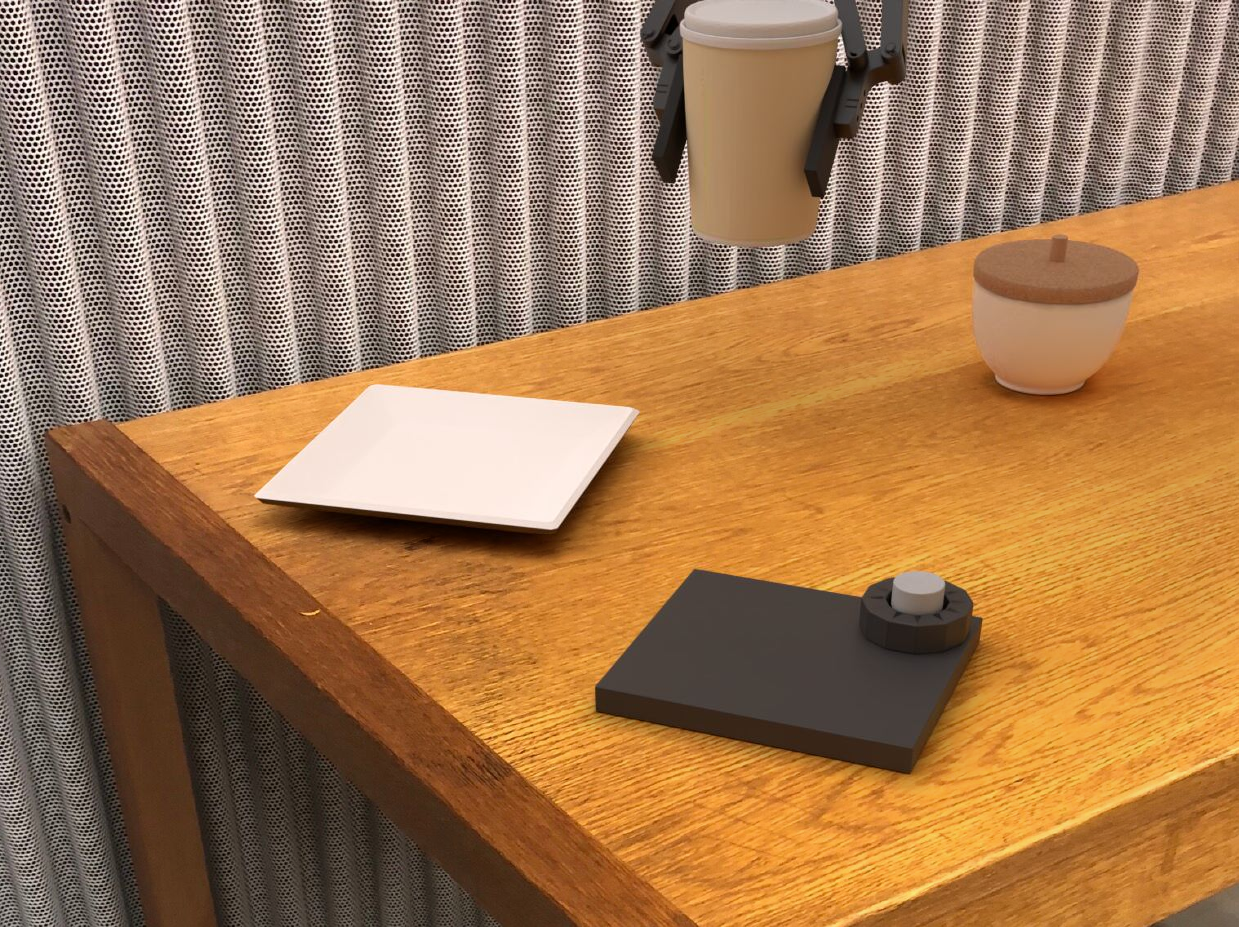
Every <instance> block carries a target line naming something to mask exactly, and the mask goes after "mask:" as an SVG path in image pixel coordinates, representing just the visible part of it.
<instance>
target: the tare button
mask: <svg viewBox="0 0 1239 927" xmlns="http://www.w3.org/2000/svg"><path fill="white" fill-rule="evenodd" d="M894 577H895V579H894V581H893V590H892V600H891V606H892V608H894V609H896V610H898V611H900V612H903V613H908V614H914V615H923V614H935V613H937V612H940V611H941V610H942V608H943V600H944V591H945V582H944V581H945V579H943V577H941V576H939V575H938V574H935V573H933V572H929V571H922V570H911V571H904V572H901V573H899V574H897V575H896V576H894Z"/></svg>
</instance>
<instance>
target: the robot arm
mask: <svg viewBox="0 0 1239 927" xmlns="http://www.w3.org/2000/svg"><path fill="white" fill-rule="evenodd" d="M699 1H703V0H655V1H654V3H653V4H652V7H651V9H650V11H649V13H648V15H647V17H646V19H645V21H644V23H643V24H642V27H641V29H640V32H639V38H640V40H641V42H642V44H643V47H644V50H645V53H646V55H647V57H648V60H649V62H650V64H651V66H653V67H654V68H661V71H660V74H659V76H658V77H659V78H658V81H657V85H656V88H655V92H654V95H653V99H652V104H653V110H654V112H655V114H656V118H657V119H658V122H659V128H658V132H657V135H656V138H655V142H654V145H653V149H652V153H651V156H650V157H651V159H652V161H653V163H654V166H655V168H656V170H657V172H658V175H659V176H660V179H661V181H662V182H661V183H663V184H668V185H669V184H670V185H675V184H676V180H677V177H678V173H679V170H680V166H681V162H682V159H683V155H684V151H685V148H686V145H687V135H686V114H685V92H684V70H683V37H682V36H681V35H680V23H681V21H682V20H683V19H685V10H686V9H687V7H688V6H690V5H692V4H694V3H697V2H699ZM833 3H834V4H833V5H834V6H835V7H836V8H837V10H838V19H840V20H841V22H842V31H841V35H840V36H841V39H842V43H843V48H844V53H845V58H846V62H847V67H846V65H844V64H836V65H834V69H833V72H832V76H831V79H830V81H829V84H828V87H827V89H826V91H825V94H824V97H823V101H822V105H821V108H820V112H819V116H818V119H817V123H816V127H815V130H814V134H813V138H812V142H811V145H810V149H809V153H808V156H807V160H806V164H805V167H804V172H805V176H806V179H807V182H808V185H809V189H810V192H811V195H812V197H820V199H824V198H825V196H826V192H827V189H828V185H829V181H830V178H831V174H832V170H833V167H834V164H835V160H836V155H837V152H838V149H839V144H840V141H841V139H846V140H854V138H855V137H856V135H857V134H858V133H859V129H860V125H861V122H862V119H863V114H864V111H865V108H866V103H867V101H868V96H869V93H870V91H871V90H872V89H873V87H875V86H876V85H879V84H882V83H885V82H887V84H890V85H892V86H893V85H894V86H896V85H899V84H901V83H902V82H904V80H905V78H906V76H907V64H908V63H907V60H908V38H909V37H908V36H909V16H910V15H909V13H910V12H909V11H910V0H881V19H880V41H879V42H880V43H879V47H877V48H873V49H870V50H868V49H867V45H866V40H865V36H864V32H863V26H862V23H861V18H860V15H859V14H860V13H859V9H858V5H857V0H833Z"/></svg>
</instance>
